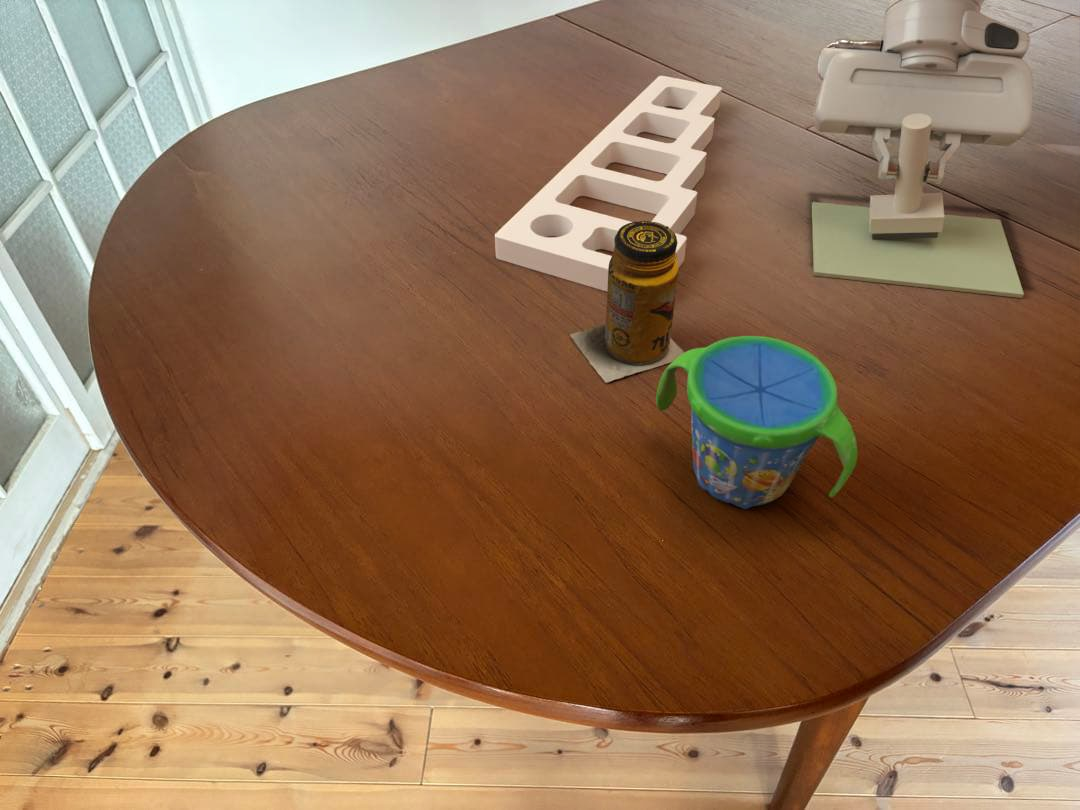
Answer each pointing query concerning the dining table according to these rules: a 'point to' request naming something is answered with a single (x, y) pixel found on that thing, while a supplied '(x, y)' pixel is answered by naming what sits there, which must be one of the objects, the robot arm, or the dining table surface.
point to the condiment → (636, 304)
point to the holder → (618, 185)
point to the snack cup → (757, 416)
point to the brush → (909, 190)
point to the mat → (914, 253)
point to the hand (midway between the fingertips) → (910, 179)
